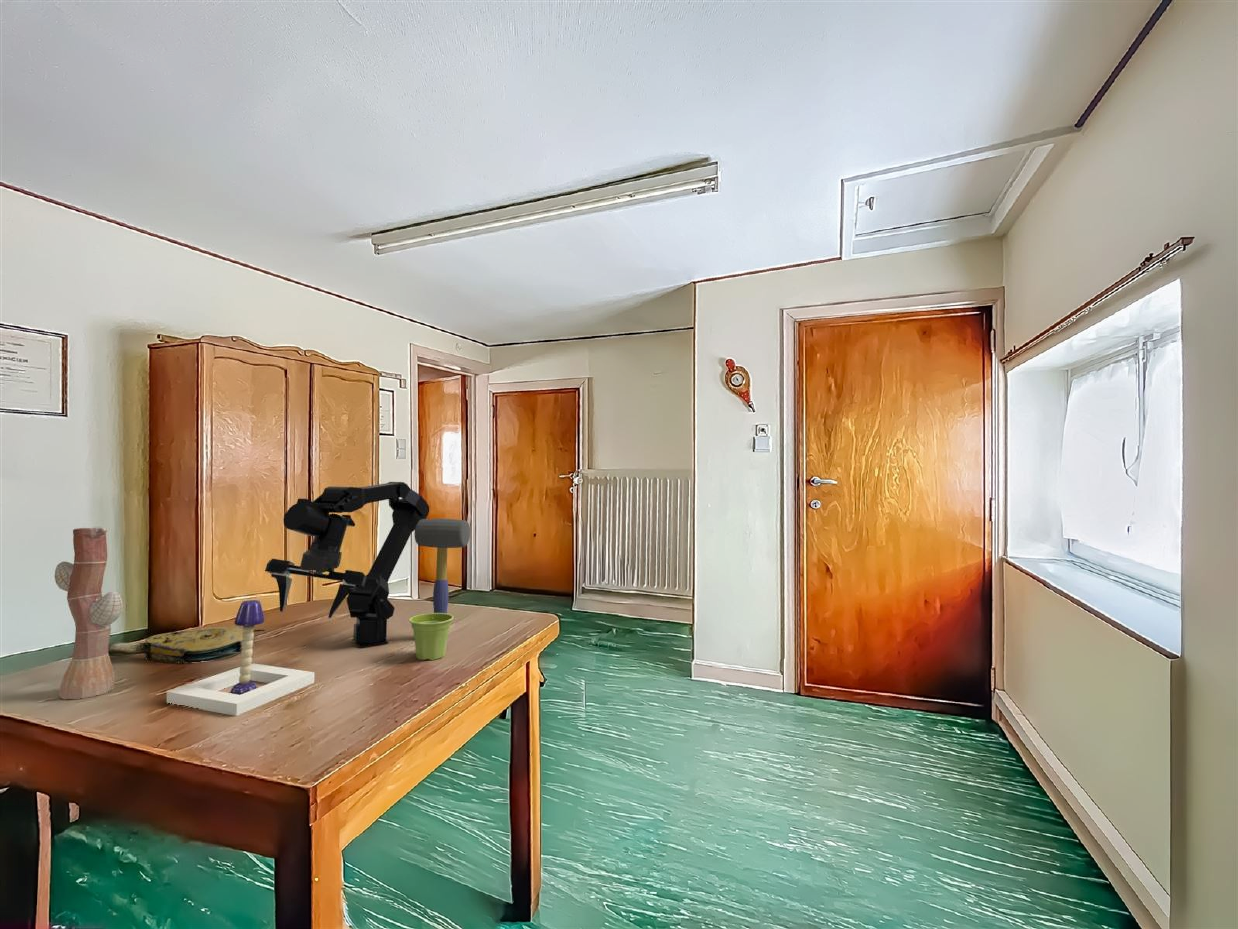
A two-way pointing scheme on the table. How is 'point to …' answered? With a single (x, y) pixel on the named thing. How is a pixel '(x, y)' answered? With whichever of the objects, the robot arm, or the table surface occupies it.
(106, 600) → the vase
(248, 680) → the toy lamp
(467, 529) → the rubber mallet
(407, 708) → the table surface
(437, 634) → the plant pot
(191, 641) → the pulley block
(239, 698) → the cutout frame
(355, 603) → the robot arm
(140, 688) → the table surface
